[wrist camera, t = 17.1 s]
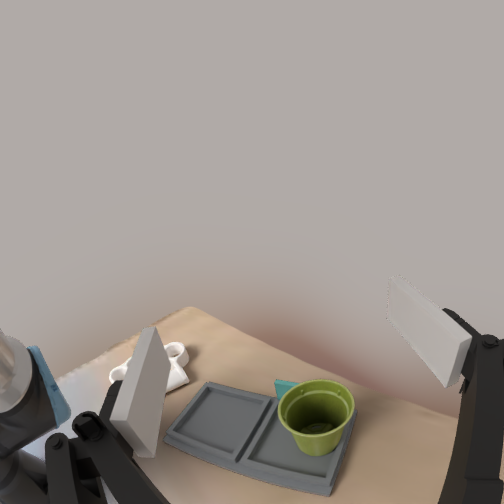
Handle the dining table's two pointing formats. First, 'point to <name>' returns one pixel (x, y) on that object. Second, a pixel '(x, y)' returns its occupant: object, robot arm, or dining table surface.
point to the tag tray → (253, 439)
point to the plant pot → (316, 414)
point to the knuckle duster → (176, 374)
